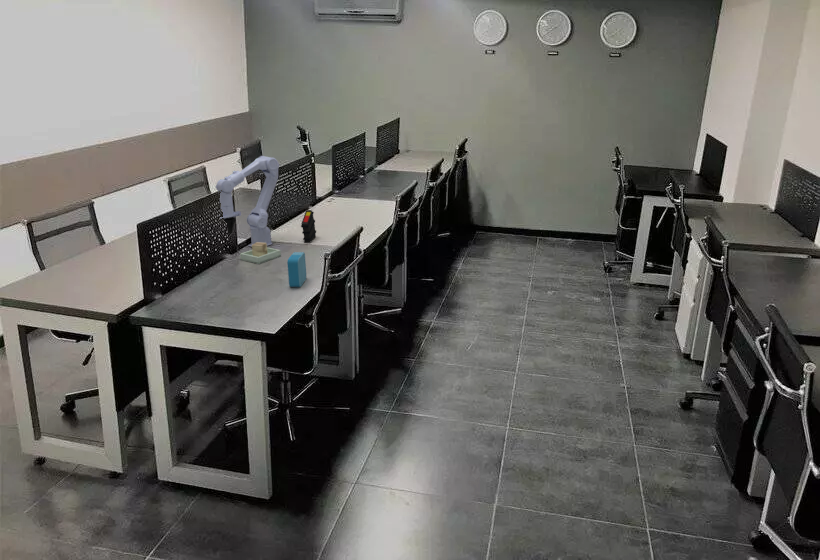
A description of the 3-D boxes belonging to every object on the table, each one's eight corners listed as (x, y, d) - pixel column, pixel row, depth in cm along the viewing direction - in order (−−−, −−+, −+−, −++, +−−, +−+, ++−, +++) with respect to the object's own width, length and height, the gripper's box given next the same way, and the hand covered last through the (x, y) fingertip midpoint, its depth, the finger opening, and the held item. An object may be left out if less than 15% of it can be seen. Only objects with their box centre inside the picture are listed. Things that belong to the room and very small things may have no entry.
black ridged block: (318, 232, 344) (313, 209, 333) (312, 249, 335) (307, 226, 324) (311, 232, 344) (305, 209, 334) (305, 249, 335) (299, 226, 325)
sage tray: (263, 252, 318) (262, 246, 317) (281, 256, 311) (280, 250, 310) (240, 259, 307) (240, 253, 306) (258, 264, 300) (258, 257, 299)
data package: (296, 278, 281) (294, 251, 277) (306, 278, 281) (304, 251, 277) (289, 288, 270) (287, 259, 266) (300, 288, 270) (298, 260, 266)
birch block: (258, 254, 312) (256, 242, 310) (267, 255, 310) (266, 242, 308) (252, 257, 307) (251, 245, 305) (262, 258, 306) (261, 245, 304)
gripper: (232, 201, 318) (235, 228, 323) (208, 207, 307) (211, 235, 312) (242, 203, 315) (245, 230, 319) (218, 209, 303) (221, 237, 308)
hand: (229, 233), depth 315 cm, fingers closed
